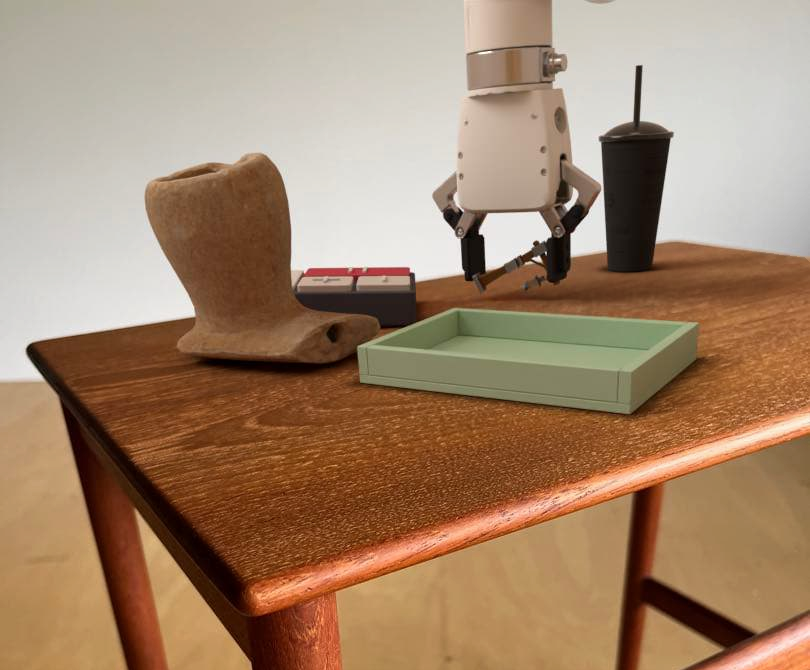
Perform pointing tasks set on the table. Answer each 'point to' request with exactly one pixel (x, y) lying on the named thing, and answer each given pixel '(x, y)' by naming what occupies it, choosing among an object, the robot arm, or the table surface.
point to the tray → (534, 357)
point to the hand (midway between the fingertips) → (515, 278)
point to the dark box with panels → (359, 292)
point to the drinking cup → (633, 187)
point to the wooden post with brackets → (514, 264)
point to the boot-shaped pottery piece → (243, 266)
